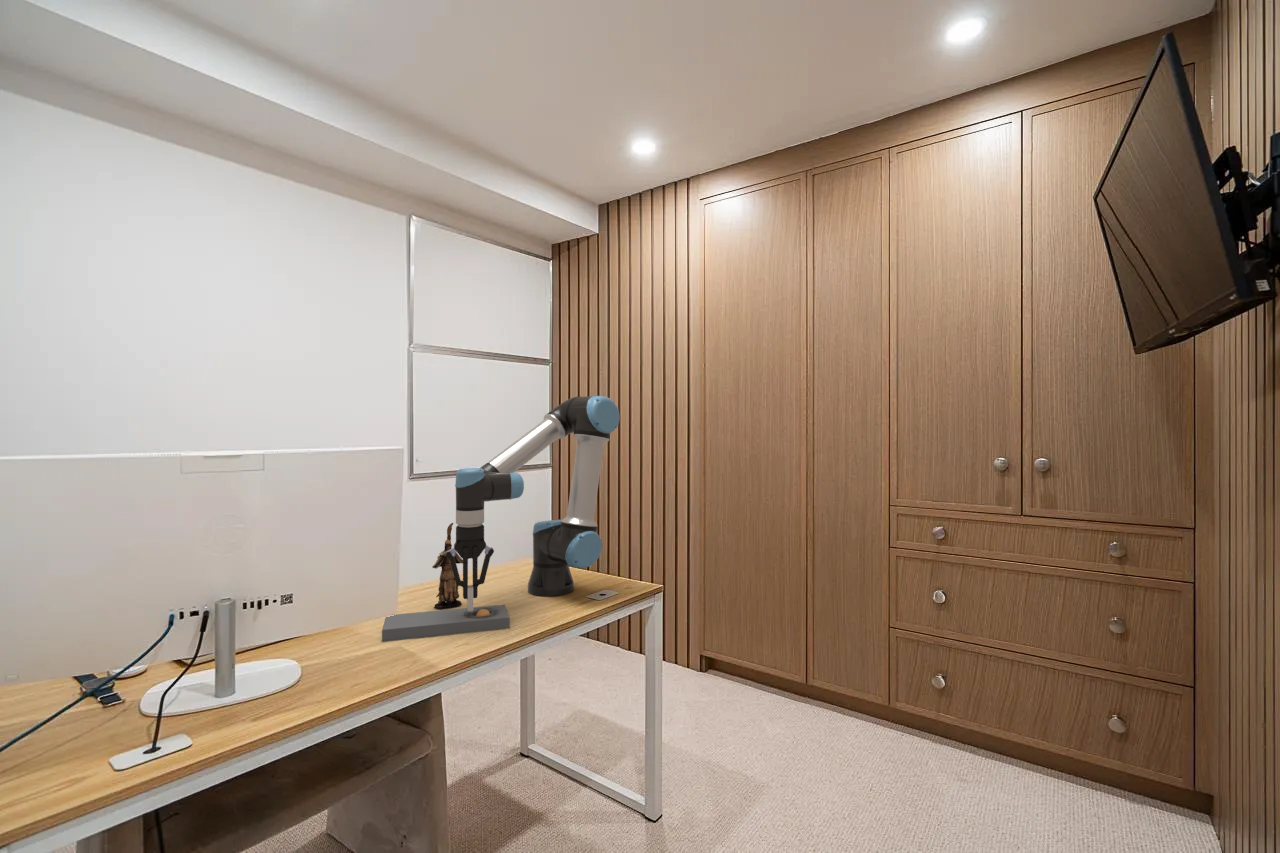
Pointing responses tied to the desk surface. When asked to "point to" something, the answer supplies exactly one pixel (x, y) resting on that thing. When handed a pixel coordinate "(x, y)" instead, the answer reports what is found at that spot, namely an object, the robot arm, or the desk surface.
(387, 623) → the block
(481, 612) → the ball
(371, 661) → the desk surface
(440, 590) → the figurine
